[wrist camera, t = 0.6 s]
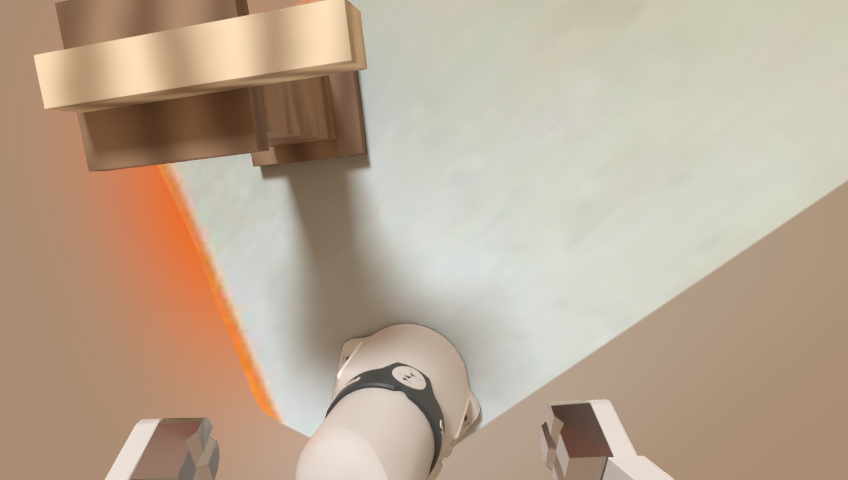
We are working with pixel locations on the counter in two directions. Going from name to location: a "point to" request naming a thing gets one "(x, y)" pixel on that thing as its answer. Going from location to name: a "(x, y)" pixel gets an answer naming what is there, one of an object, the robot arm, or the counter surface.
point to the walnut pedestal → (209, 100)
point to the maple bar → (205, 58)
